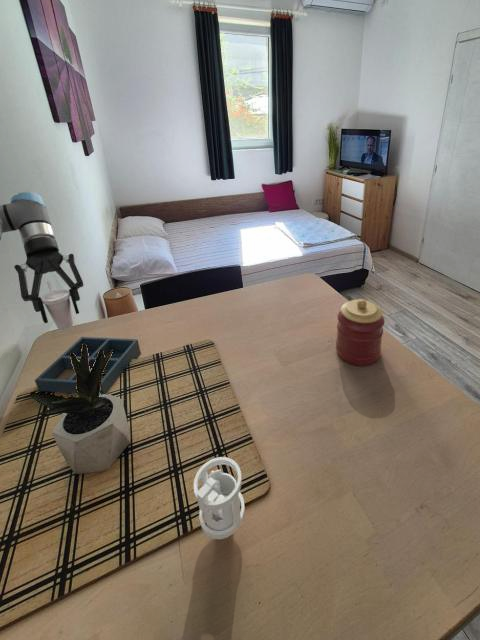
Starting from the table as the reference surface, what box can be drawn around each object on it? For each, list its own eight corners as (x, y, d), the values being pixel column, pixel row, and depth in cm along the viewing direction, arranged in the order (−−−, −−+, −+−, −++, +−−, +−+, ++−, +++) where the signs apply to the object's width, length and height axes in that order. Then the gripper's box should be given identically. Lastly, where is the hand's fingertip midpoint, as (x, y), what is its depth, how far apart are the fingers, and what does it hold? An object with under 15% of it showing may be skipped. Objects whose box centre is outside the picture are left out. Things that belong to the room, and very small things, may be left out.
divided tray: (40, 395, 82) (34, 380, 80) (86, 350, 98) (81, 336, 96) (105, 399, 81) (100, 384, 79) (141, 353, 97) (137, 339, 95)
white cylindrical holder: (195, 540, 53) (182, 481, 48) (225, 501, 59) (217, 444, 53) (226, 570, 50) (216, 510, 44) (255, 526, 55) (250, 467, 49)
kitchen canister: (389, 359, 93) (397, 306, 86) (350, 372, 88) (354, 317, 81) (363, 334, 104) (368, 285, 97) (327, 344, 99) (330, 293, 93)
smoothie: (53, 322, 92) (38, 278, 87) (79, 316, 95) (66, 273, 89) (49, 334, 87) (33, 288, 81) (77, 328, 89) (63, 283, 84)
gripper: (80, 241, 100) (102, 308, 94) (-1, 256, 89) (19, 334, 84) (78, 229, 94) (102, 300, 88) (-9, 243, 83) (12, 326, 78)
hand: (61, 316), depth 86 cm, fingers closed on smoothie, 6 cm apart
